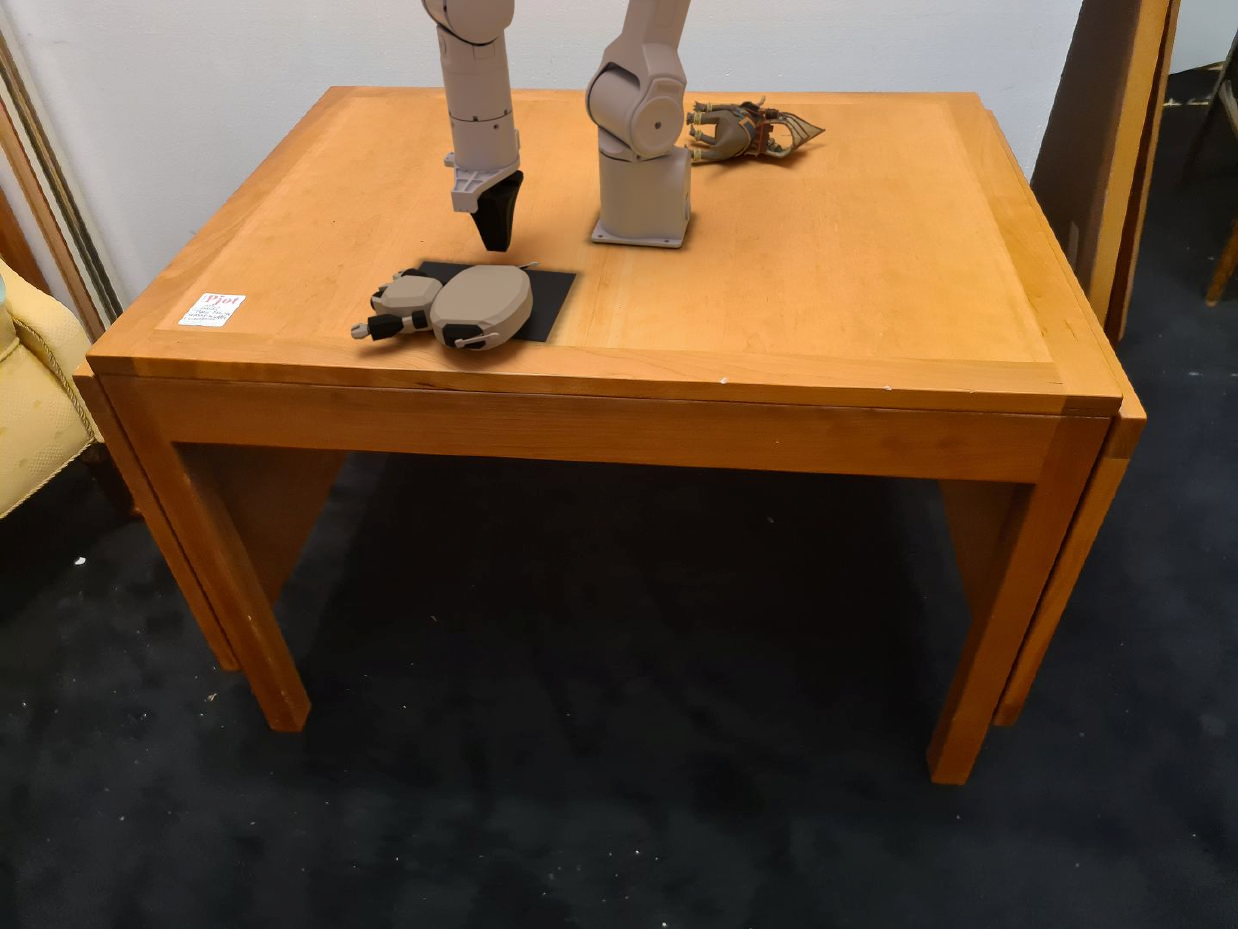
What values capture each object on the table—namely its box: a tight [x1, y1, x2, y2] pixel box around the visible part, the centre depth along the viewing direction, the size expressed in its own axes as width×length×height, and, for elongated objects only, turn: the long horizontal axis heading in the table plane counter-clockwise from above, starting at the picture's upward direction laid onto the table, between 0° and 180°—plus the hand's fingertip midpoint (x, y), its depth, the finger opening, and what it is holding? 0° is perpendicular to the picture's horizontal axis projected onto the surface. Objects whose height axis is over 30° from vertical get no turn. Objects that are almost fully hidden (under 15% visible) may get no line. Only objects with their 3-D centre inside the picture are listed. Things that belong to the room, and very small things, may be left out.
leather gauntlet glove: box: [683, 95, 826, 163], centre depth 105 cm, size 20×6×17 cm
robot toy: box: [350, 261, 541, 352], centre depth 78 cm, size 12×4×15 cm
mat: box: [417, 260, 577, 343], centre depth 83 cm, size 16×12×1 cm
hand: (498, 248), depth 86 cm, fingers closed
